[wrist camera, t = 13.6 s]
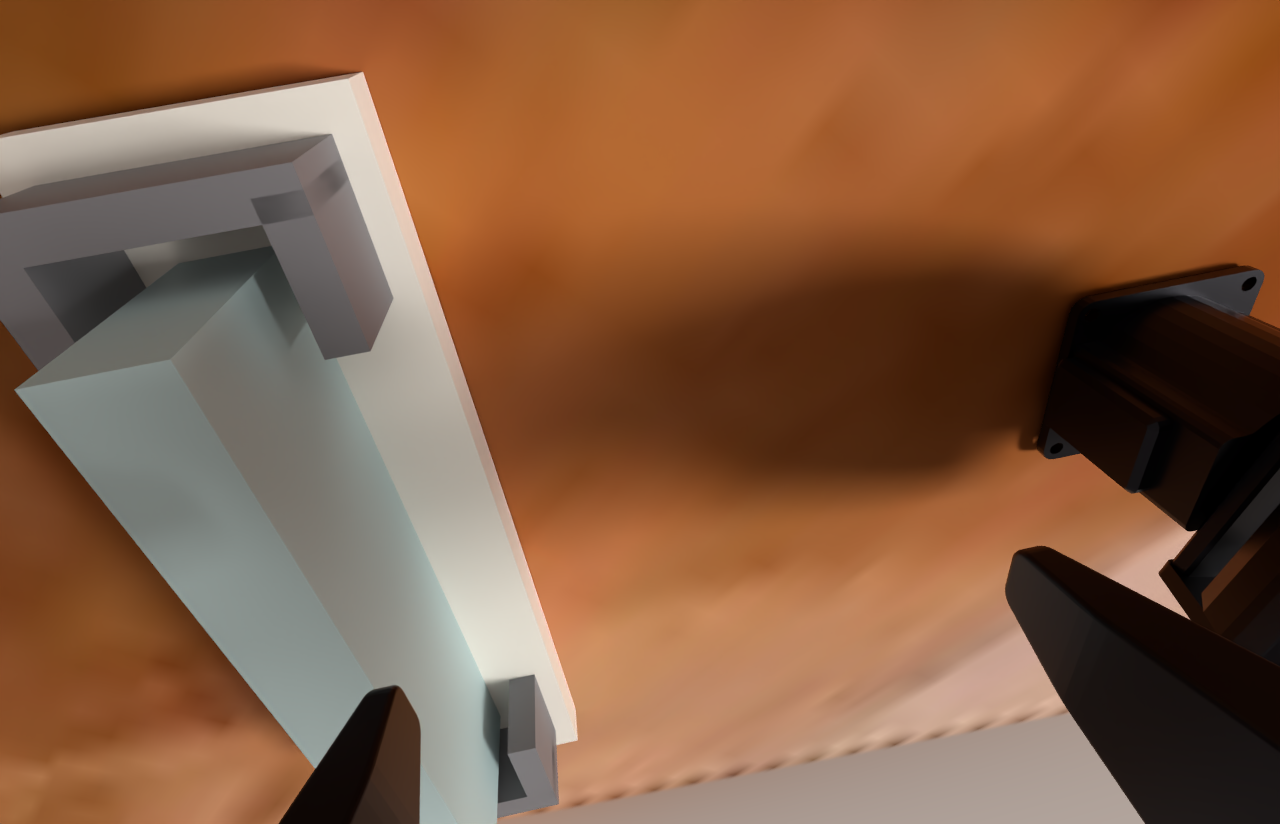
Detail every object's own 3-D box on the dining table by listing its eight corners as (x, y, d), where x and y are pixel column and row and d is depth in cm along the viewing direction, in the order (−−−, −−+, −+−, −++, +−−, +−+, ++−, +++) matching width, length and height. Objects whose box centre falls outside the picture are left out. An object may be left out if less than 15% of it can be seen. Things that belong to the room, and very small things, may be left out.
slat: (283, 243, 16) (170, 359, 11) (500, 716, 27) (494, 882, 22) (178, 263, 16) (14, 389, 11) (439, 730, 27) (419, 900, 22)
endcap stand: (363, 71, 15) (310, 96, 12) (575, 708, 30) (582, 812, 26) (13, 131, 15) (-159, 176, 11) (399, 747, 29) (380, 858, 25)
